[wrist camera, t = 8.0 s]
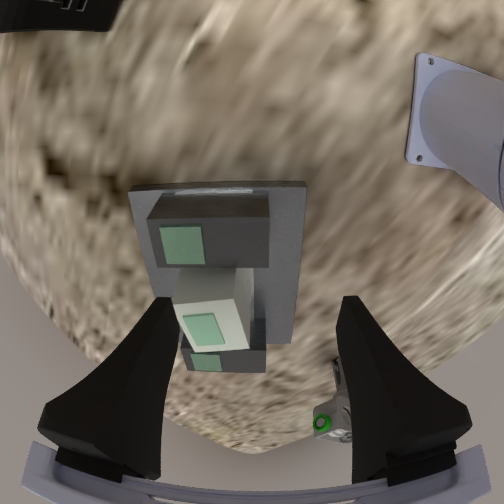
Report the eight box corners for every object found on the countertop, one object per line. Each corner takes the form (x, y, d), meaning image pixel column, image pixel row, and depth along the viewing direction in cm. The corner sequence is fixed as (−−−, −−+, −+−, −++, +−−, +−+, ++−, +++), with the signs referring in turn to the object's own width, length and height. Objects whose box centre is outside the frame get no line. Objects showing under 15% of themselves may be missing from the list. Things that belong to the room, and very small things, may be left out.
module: (237, 248, 22) (233, 300, 17) (250, 298, 24) (249, 350, 20) (184, 256, 22) (169, 307, 18) (203, 303, 25) (194, 354, 21)
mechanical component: (351, 377, 35) (364, 448, 26) (299, 350, 31) (307, 437, 23) (370, 367, 33) (387, 439, 25) (321, 337, 29) (334, 426, 21)
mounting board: (304, 181, 20) (316, 215, 16) (290, 335, 29) (293, 375, 25) (132, 186, 20) (106, 219, 16) (171, 333, 29) (162, 371, 26)
